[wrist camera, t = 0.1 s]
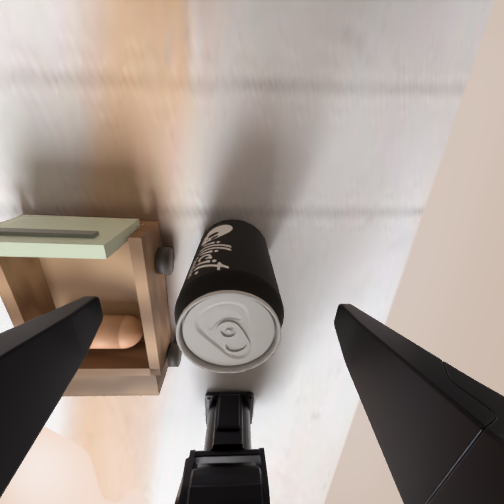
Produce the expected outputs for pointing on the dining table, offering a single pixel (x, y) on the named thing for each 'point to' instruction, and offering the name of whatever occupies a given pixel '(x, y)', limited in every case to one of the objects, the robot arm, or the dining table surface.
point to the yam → (118, 332)
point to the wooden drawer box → (104, 308)
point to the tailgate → (64, 236)
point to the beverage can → (229, 301)
